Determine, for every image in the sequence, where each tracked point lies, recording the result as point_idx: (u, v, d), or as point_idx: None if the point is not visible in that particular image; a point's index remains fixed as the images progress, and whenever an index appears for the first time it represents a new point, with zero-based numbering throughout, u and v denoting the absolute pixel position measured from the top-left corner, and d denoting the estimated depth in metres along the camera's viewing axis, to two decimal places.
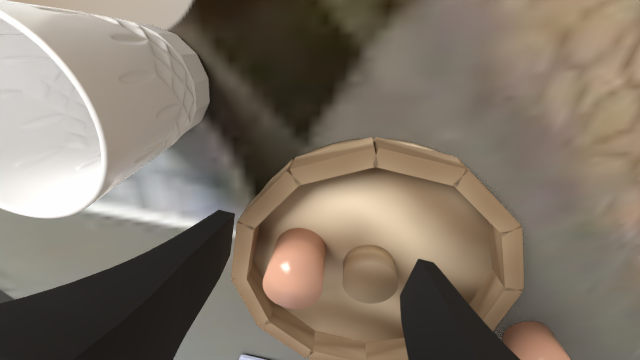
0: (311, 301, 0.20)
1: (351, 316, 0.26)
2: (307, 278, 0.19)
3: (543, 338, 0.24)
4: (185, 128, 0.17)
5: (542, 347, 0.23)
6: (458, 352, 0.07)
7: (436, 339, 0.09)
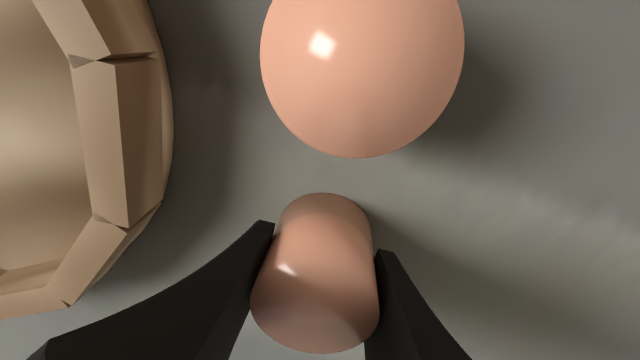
0: None
1: (5, 209, 0.12)
2: None
3: None
4: None
5: None
6: (400, 338, 0.07)
7: (386, 327, 0.09)
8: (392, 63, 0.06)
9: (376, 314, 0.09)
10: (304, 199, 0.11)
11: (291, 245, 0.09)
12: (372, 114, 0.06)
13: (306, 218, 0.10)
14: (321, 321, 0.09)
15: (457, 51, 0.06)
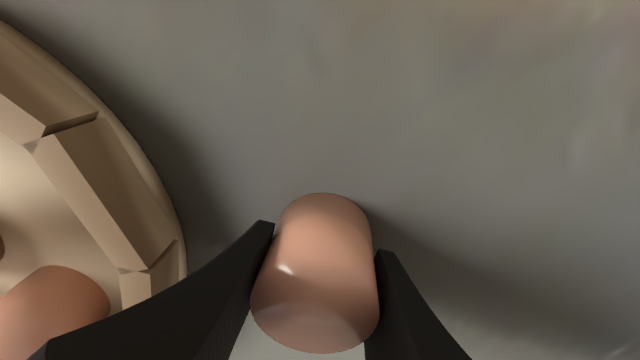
0: None
1: None
2: None
3: (290, 221, 0.10)
4: None
5: (275, 241, 0.10)
6: (400, 338, 0.07)
7: (386, 327, 0.09)
8: (335, 312, 0.09)
9: None
10: None
11: None
12: (324, 333, 0.09)
13: None
14: None
15: (375, 311, 0.09)
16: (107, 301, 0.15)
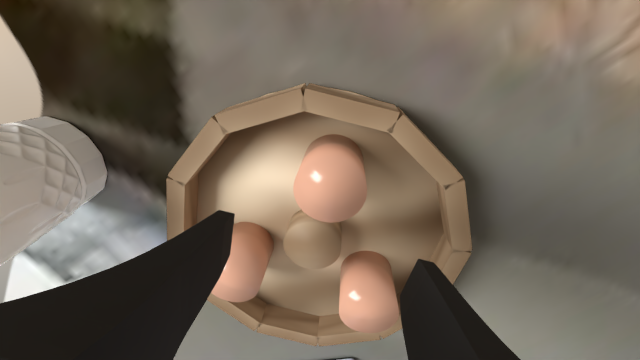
0: (255, 286, 0.19)
1: (339, 288, 0.24)
2: (234, 266, 0.19)
3: (314, 147, 0.17)
4: (74, 184, 0.19)
5: (306, 156, 0.17)
6: (458, 352, 0.07)
7: (436, 339, 0.09)
8: (342, 191, 0.16)
9: (383, 295, 0.19)
10: None
11: (339, 298, 0.20)
12: (336, 207, 0.16)
13: (341, 280, 0.21)
14: (375, 313, 0.19)
15: (364, 189, 0.15)
16: None
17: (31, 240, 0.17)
